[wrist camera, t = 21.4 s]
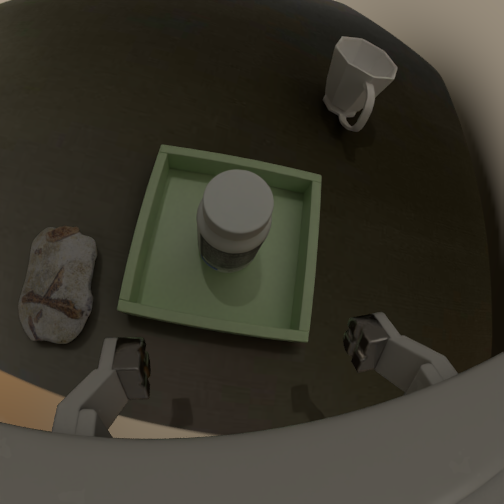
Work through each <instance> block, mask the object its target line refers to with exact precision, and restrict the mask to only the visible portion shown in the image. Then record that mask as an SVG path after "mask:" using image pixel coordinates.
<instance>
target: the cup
mask: <svg viewBox="0 0 504 504" xmlns="http://www.w3.org/2000/svg"><path fill="white" fill-rule="evenodd" d="M396 72H397V66H396V65H395V64H394V62H393V61H392V60H391V59H390V57H389V56H388V55H387V54H386V52H385V51H383V50H382V49H380V48H378V47H377V46H375V45H373V44H371V43H370V42H368V41H366V40H364V39H361V38H353V37H343V36H342V37H341V39H340V40H339V42H338V43H337V44H336V46H335V49H334V53H333V57H332V61H331V65H330V69H329V73H328V76H327V81H326V90H325V93H326V94H325V96H324V98H323V101H324V103H325V105H326V106H327V108H328V110H329V111H331V112H333V113H334V114H336V115H338V116H339V121H340V123H341V125H342V126H343V127H344V128H346V129H347V130H350V131H354V132H358V131H360V130H361V129H362V128H363V127H364V125H365V123H366V122H367V120H368V118H369V116H370V114H371V112H372V109H373V105H374V101H375V97H376V96H377V95H378V94H379V93H380V92H381V91H382V90H384V89H385V88H386V87H387V86H388V85H389V84H390V83H391V82H392V81H393V80H394V78H395V75H396ZM362 108H363V111H362V113H361V115H360V117H359V119H358V120H357V122H356V124H355V125H354V126H350V125H349V124H348V122H347V120H346V117H354V116H355V114H356V111H359V110H361V109H362Z"/></svg>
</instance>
